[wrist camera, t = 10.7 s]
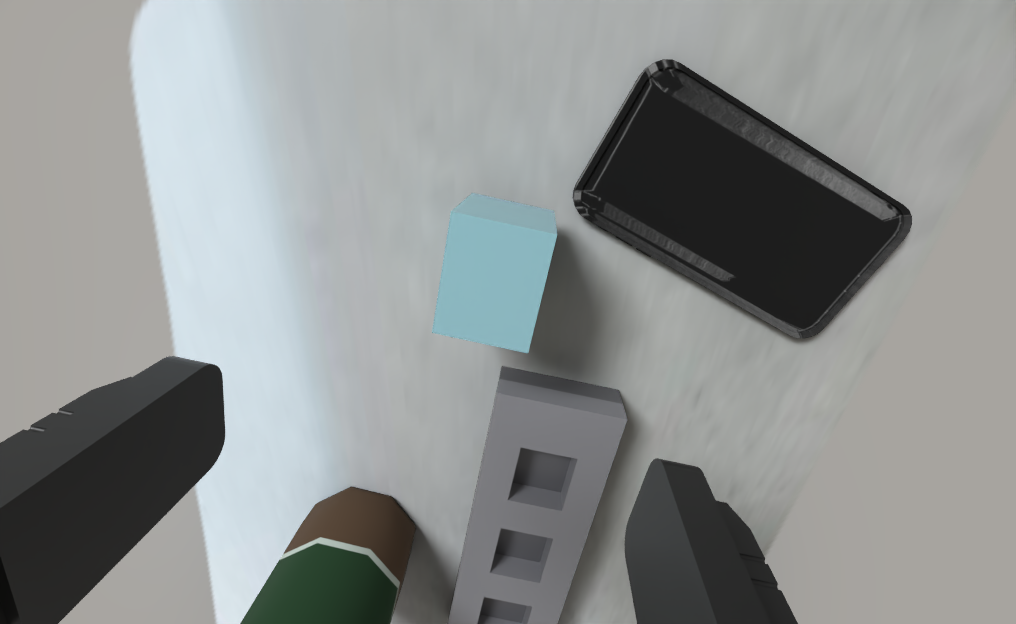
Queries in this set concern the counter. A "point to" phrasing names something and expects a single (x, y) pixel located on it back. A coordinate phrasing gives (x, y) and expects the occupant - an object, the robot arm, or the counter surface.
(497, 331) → the block
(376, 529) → the beer bottle
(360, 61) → the counter surface
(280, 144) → the counter surface
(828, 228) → the phone
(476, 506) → the power strip
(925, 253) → the counter surface
